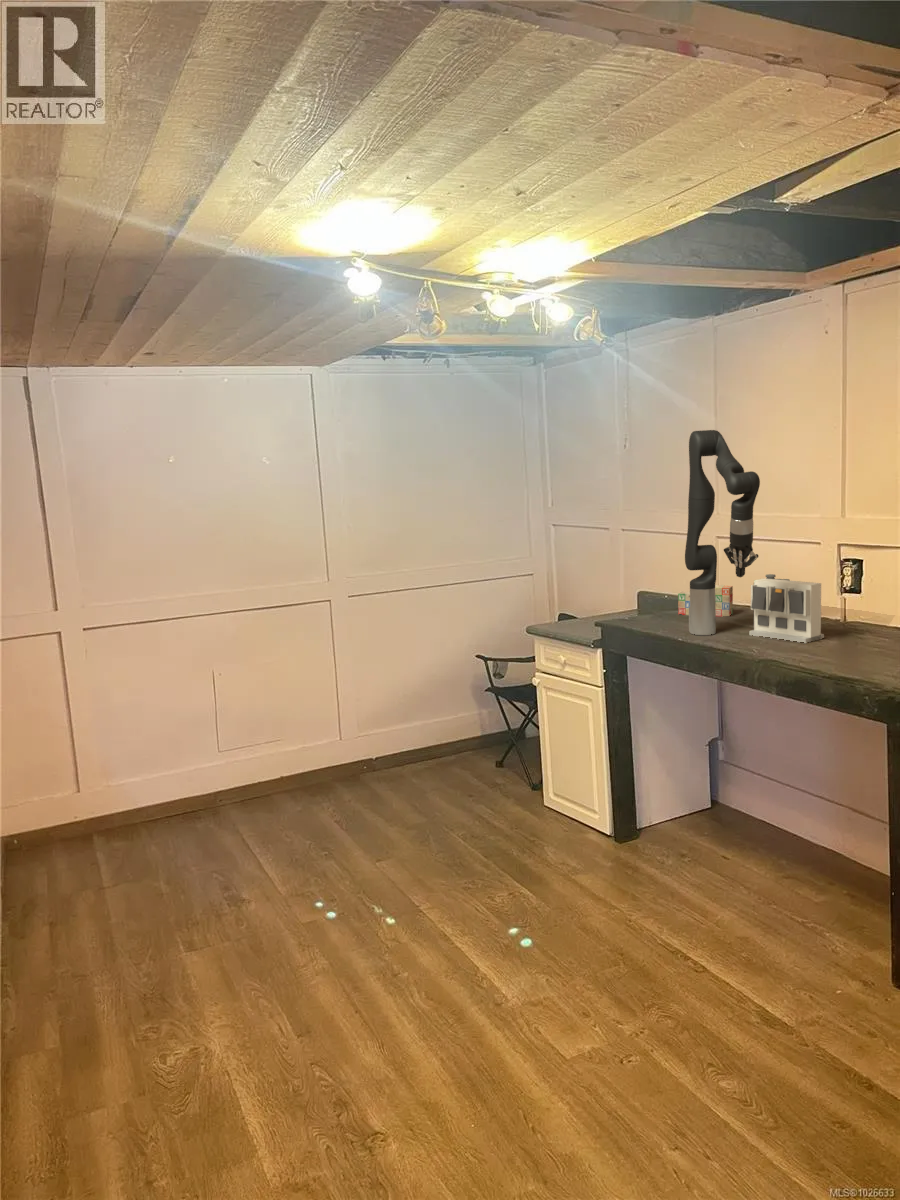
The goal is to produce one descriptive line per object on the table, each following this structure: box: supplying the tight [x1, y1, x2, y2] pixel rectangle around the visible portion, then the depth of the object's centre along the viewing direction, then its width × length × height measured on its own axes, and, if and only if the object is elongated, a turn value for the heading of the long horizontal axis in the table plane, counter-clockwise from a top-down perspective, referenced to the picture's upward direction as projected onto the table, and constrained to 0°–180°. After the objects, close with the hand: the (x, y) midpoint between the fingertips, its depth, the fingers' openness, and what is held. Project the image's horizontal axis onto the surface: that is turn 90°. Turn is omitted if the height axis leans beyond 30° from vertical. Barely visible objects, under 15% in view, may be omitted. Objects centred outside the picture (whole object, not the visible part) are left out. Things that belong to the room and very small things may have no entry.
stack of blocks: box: [677, 584, 734, 617], centre depth 376 cm, size 21×6×12 cm, turn 61°
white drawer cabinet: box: [748, 577, 825, 644], centre depth 323 cm, size 11×23×20 cm, turn 36°
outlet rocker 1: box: [769, 588, 785, 612], centre depth 319 cm, size 2×5×8 cm, turn 36°
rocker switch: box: [750, 587, 766, 610], centre depth 325 cm, size 2×5×8 cm, turn 36°
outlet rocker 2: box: [788, 590, 804, 614], centre depth 313 cm, size 2×5×8 cm, turn 35°
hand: (740, 576), depth 311 cm, fingers closed
